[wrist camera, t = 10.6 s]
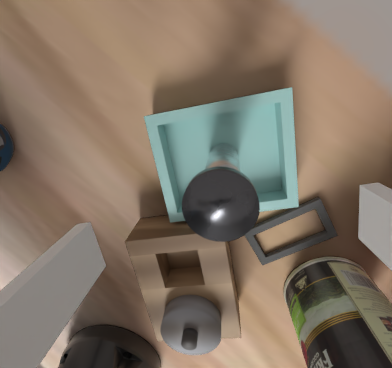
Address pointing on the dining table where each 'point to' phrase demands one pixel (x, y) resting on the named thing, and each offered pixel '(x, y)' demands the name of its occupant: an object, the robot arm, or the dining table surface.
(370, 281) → the coffee can
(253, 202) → the pin
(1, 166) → the soda can
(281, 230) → the dining table surface
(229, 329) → the block
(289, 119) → the tray
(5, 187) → the dining table surface
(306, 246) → the gray rectangular frame
